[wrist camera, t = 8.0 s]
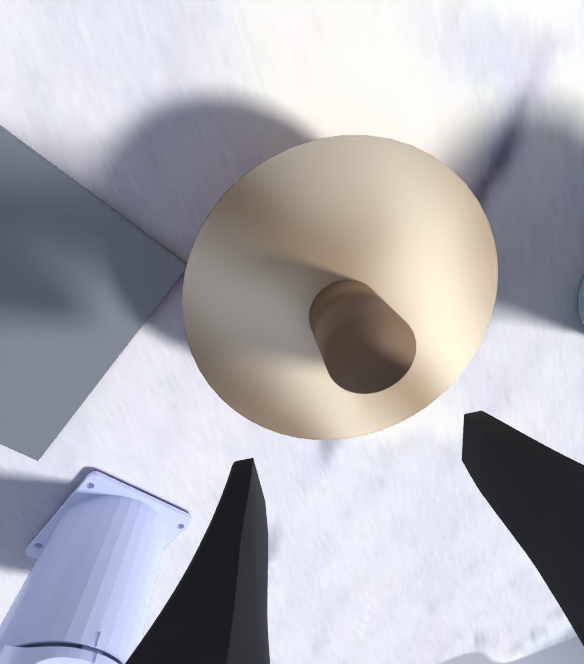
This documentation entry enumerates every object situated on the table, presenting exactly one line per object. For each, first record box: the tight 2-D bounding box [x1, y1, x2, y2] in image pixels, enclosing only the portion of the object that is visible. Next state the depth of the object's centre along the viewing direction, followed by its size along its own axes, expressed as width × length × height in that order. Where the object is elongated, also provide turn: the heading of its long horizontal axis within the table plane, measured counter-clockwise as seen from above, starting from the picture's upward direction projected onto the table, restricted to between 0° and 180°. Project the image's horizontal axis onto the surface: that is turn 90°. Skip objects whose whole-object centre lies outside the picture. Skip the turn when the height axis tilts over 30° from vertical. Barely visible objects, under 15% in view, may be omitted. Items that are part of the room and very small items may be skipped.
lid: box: [182, 135, 498, 440], centre depth 13 cm, size 13×13×4 cm
